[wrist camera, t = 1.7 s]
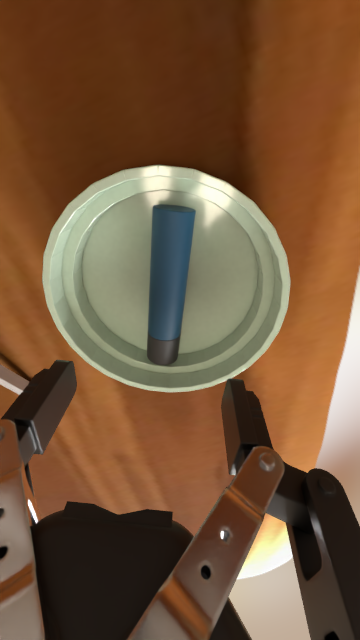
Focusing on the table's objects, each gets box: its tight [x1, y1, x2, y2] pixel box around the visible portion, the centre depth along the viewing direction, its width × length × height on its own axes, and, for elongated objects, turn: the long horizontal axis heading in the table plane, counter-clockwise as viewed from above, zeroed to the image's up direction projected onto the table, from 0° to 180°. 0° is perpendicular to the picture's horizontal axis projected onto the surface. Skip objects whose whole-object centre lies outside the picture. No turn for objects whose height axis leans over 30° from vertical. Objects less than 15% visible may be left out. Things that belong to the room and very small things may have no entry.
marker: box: [147, 204, 196, 365], centre depth 22 cm, size 14×3×3 cm, turn 174°
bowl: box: [42, 165, 290, 392], centre depth 22 cm, size 19×19×4 cm
